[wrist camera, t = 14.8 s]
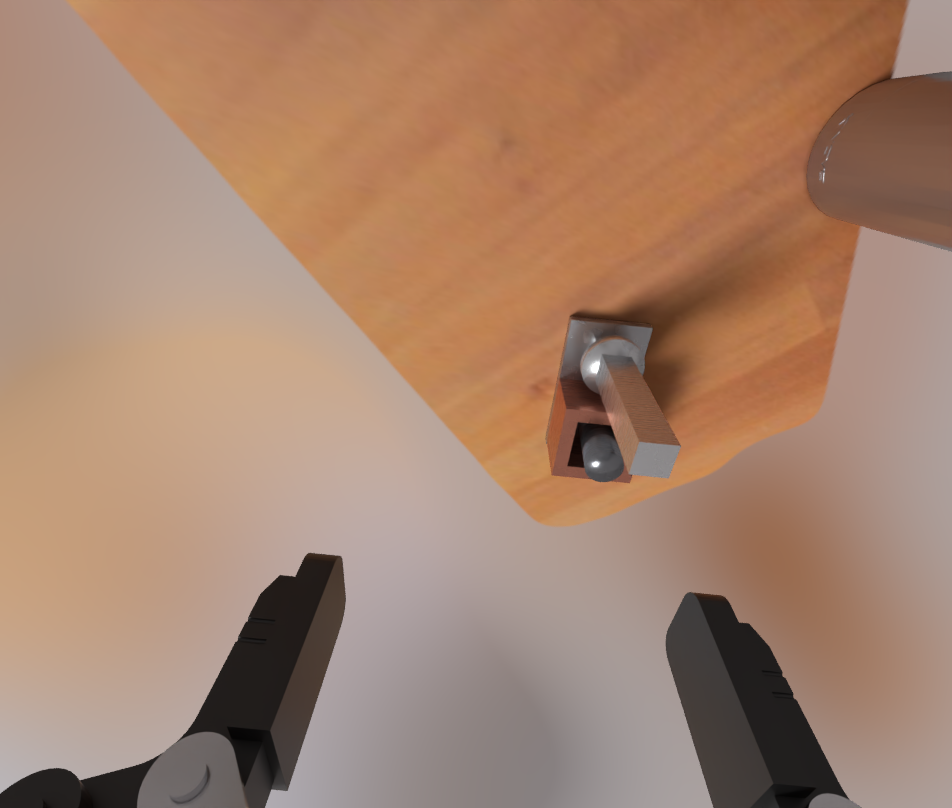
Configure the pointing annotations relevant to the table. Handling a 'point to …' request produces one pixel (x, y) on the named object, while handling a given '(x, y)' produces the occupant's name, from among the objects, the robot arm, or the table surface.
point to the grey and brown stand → (608, 400)
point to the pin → (600, 452)
